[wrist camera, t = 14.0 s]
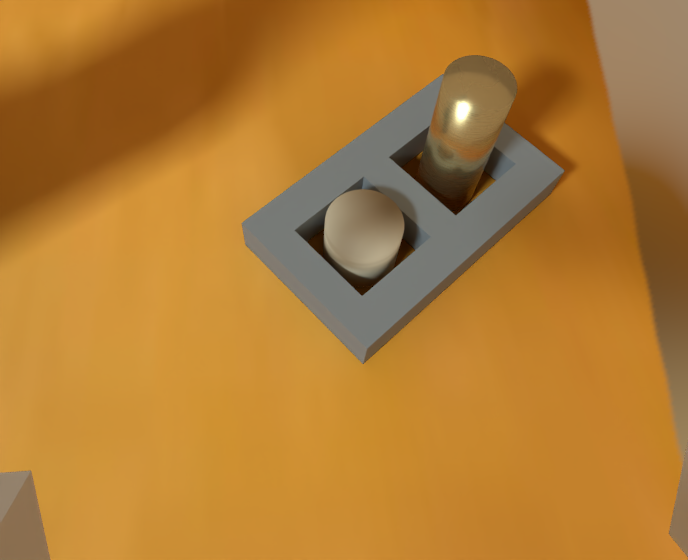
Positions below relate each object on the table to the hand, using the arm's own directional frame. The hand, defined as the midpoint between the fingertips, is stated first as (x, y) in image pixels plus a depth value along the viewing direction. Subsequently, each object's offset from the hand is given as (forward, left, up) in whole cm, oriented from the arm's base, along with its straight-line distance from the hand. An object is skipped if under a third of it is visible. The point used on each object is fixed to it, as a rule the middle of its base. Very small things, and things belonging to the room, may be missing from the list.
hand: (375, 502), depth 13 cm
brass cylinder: (-13, +24, -27) cm, 38 cm away
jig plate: (-13, +19, -27) cm, 35 cm away
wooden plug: (-13, +15, -27) cm, 33 cm away
